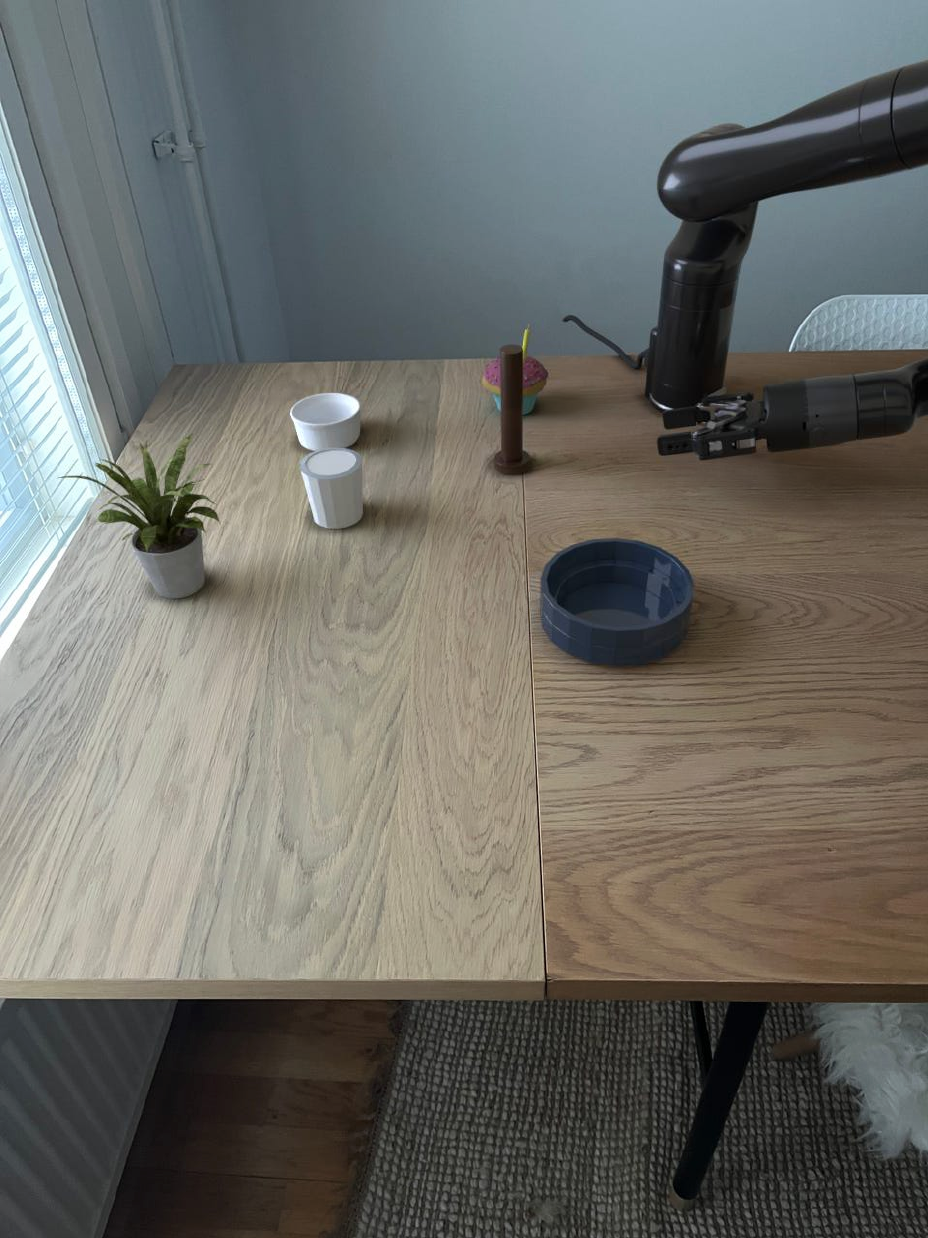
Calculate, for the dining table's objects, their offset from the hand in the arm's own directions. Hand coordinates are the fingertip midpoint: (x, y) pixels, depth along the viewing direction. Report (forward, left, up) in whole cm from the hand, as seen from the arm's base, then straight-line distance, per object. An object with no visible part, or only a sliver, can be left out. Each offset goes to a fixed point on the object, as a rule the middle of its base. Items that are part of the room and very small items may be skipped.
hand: (660, 432), depth 109 cm
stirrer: (-13, -11, -6) cm, 18 cm away
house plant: (-18, -54, -6) cm, 57 cm away
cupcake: (-24, -1, -6) cm, 25 cm away
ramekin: (-34, -24, -6) cm, 42 cm away
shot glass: (-18, -33, -6) cm, 38 cm away
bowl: (+16, -23, -6) cm, 29 cm away
